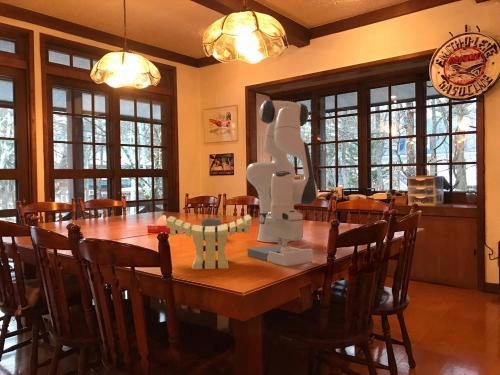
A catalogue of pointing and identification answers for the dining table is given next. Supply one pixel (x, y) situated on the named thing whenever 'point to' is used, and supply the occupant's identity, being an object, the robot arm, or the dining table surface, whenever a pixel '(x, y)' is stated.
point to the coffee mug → (211, 222)
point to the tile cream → (286, 249)
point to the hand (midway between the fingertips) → (282, 249)
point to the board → (262, 251)
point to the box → (290, 257)
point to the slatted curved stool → (209, 240)
